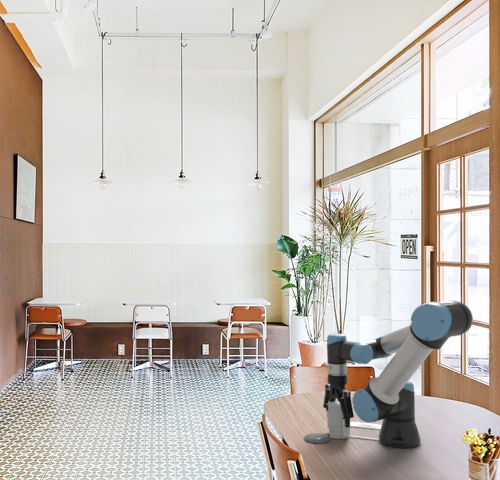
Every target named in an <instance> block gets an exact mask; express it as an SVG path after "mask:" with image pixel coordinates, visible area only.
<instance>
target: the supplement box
mask: <svg viewBox="0 0 500 480" xmlns="http://www.w3.org/2000/svg"><path fill="white" fill-rule="evenodd" d="M328 414H329V428H328V434H329V437H330V439H349V436H350V435H347V436H343V418H344V416H343V413H342V409H341V406H340V403H339V401H338V400H335V401H331V402H330V401H328Z"/></svg>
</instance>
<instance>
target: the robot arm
mask: <svg viewBox="0 0 500 480" xmlns="http://www.w3.org/2000/svg"><path fill="white" fill-rule="evenodd" d="M473 318H474V317H473V313H472V311H471V309H470V307H468V305H466V304H465V303H464V302H461V301H459V300H445V301H443V300H442V301H430V302H426V303H423V304H420V305H418V306H417V307H416V308H415V309H414V310H413V311H412V313H411V315H410V321H411V322H410V325H407V326H405V327H403V328H400V329H399V328H398V329H397V330H395V331H392V332H390V333H387V334H385V335H383V336H380V337H377V338H374V339H370V340H369V339H368V340H363V341H361V340H360V341H350V340H347V336H346V335H345V333H344V334H343V333H330V334H328V335H327V338H326V358H327V362H326V363H327V373H328V374H327V384H325V385H324V389H325V392H324V398H323V408H324V409H325V410H326V418H327V421H326V422H327V429H329V414H328V401H330V402H331V401H339V403H340V406H341V409H342V413H343V416H344V418H343V436H347V435H349V436H351V431H350V430H351V427H350V423H351V419H354V418H355V416H354V415H355V414H356V417H357V418H359V419H360V420H361V421H362V422H363V423H369V424H371V423H377V422H378V421H381V420H382V421H381V422H382V423H381V425H382V426H381V430H379V432H378V439H379V441H378V442H380V443H381V444H382V445H385V446H387V447H390V448H391V447H392V448H396V449H397V448H398V449H413V448H417V447H419V446H420V445H421V435H420V433H419V432H420V431H419V430H418V427H417V422H416V411H415V409H416V407H415V406H416V405H415V403H416V402H415V394H416V393H415V386H414V383H413V382H411V381H410V379H411V378H412V377H413V376H414V374H415V373H416V372H417V370H418V369H419V368H420V367H421V365H422V364H423V363H424V361H426V359H427V358H428V357H429V356H430V354H431V353H432V352H433V351H437V350H440V349H441V348H442V347H443V346H444V345H445V343H446V342H447V341H448V340H449V338H452V337H457V336H461V335H463V334H465V333H467V332H468V331H469V330H470V329H471V327H472V325H473ZM392 355H394V356H393V357H392V358H391V359H390V360H389V362H388V364H387V365H386V366H385V367H384V368H383V370H382V371H381V372H380V374H379V375H378V376H375V377H372V378H371V379H370V380H369V381H368V382H367V384H366V385H365V387H363V388H359V389H357V390H356V391H355V392H354V393H353V396H352V398H351V393H352V392H351V391H350V390H346V385H347V383H348V374H347V373H348V363H347V362H350V363H355V364H359V365H367V364H369V363H370V362H371V361H373V360H378V359H385V358H388V357H390V356H392ZM354 413H355V414H354Z"/></svg>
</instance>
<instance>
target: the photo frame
mask: <svg viewBox="0 0 500 480" xmlns="http://www.w3.org/2000/svg"><path fill="white" fill-rule="evenodd" d="M381 426H382V424H376V423H367V422H359V421H350V428H355V427H357V429H367V430H375V431H380V430H381ZM349 438H350V439H360V440H366V441H367V440H369V441H378V442H380V441H379V438H374V437H366V436H356V435H349ZM349 438H348V439H349Z"/></svg>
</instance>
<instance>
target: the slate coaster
mask: <svg viewBox="0 0 500 480" xmlns="http://www.w3.org/2000/svg"><path fill="white" fill-rule="evenodd" d="M303 439H305V440H306V441H305V440H304V441H305V442H307V443H309V442H310V443H309V444H314V443H319V444H320V445H321V443H323V444H327V443H329V442H331V438H330V435H327V434H326V433H316V432H315V433H309V434H306V435H305V436H304V437H303ZM326 442H327V443H326ZM319 444H318V445H319Z"/></svg>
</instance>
